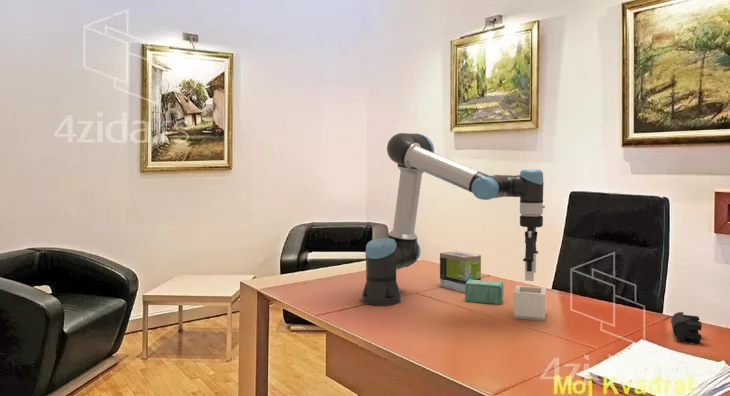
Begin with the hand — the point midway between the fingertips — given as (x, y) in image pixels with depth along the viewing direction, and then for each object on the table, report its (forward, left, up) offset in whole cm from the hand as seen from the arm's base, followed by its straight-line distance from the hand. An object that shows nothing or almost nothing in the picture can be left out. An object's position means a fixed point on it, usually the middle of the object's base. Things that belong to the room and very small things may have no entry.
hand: (530, 276), depth 181 cm
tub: (0, 0, -14) cm, 14 cm away
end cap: (+45, -9, -14) cm, 48 cm away
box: (-18, +14, -14) cm, 27 cm away
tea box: (-30, +31, -14) cm, 45 cm away
